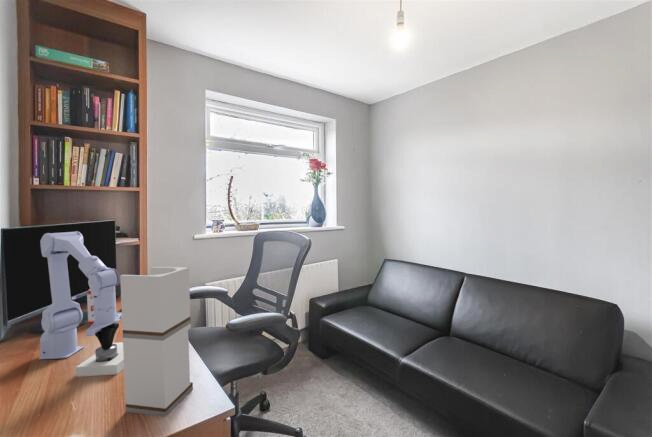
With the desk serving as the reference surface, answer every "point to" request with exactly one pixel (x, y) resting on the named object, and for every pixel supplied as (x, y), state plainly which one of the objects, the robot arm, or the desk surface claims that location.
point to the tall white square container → (156, 339)
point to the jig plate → (102, 365)
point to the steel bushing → (106, 353)
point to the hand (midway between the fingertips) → (107, 348)
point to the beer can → (90, 307)
